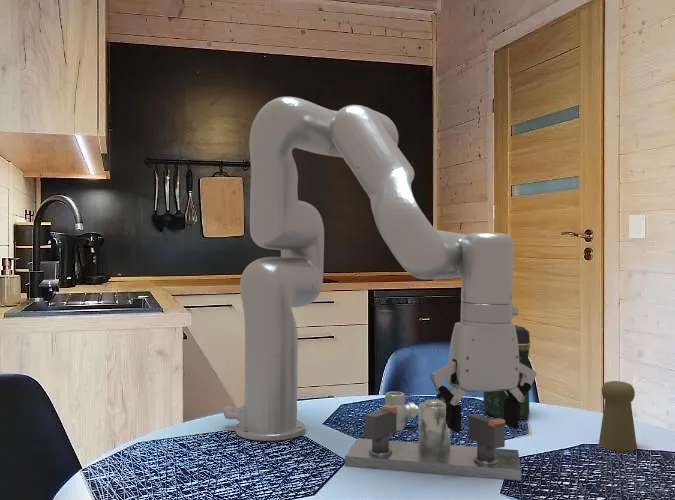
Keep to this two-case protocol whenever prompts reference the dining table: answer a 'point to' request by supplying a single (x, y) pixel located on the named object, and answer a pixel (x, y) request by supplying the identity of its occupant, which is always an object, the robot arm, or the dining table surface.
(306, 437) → the dining table surface
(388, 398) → the valve
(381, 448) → the knob
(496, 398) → the coffee jar
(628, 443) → the cork
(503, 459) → the plate
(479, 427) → the knob
